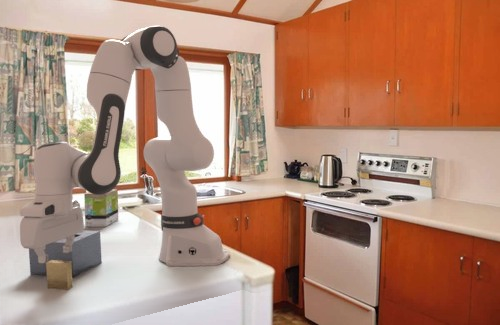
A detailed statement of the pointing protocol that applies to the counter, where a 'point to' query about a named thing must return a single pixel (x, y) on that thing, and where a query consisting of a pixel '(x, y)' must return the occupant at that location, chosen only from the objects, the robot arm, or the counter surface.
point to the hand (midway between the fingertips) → (56, 257)
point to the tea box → (101, 209)
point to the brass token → (59, 274)
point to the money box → (70, 254)
